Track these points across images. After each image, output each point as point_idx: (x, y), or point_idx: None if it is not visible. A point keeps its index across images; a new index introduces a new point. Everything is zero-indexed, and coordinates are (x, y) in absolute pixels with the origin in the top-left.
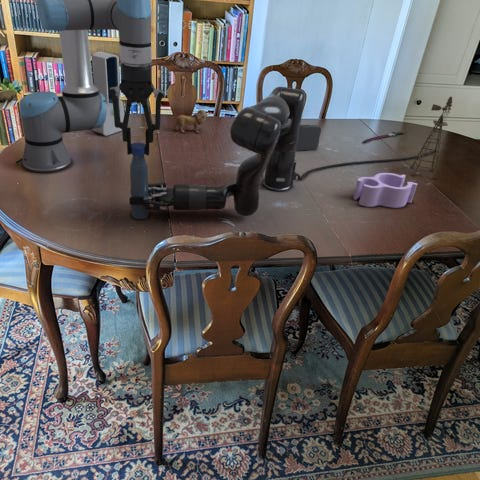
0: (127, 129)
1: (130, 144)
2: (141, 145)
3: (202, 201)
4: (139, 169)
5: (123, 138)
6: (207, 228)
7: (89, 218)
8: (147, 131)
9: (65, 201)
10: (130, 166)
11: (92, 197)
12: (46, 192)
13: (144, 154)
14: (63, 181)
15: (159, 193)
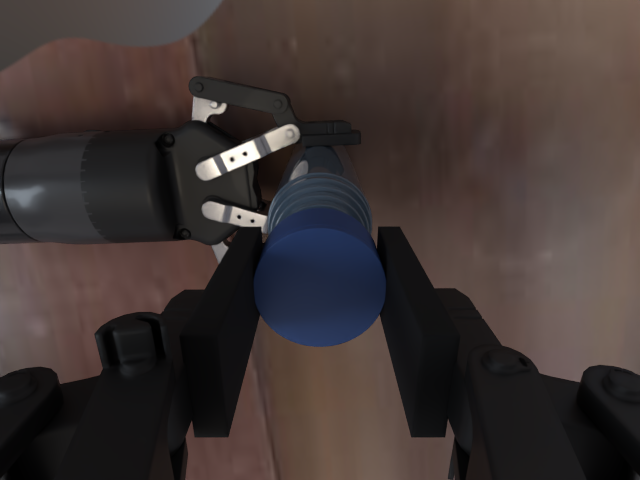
0: (447, 387)
1: (386, 291)
2: (293, 290)
3: (39, 138)
4: (312, 176)
5: (464, 303)
6: (64, 79)
7: (495, 129)
8: (196, 359)
9: (574, 240)
10: (369, 213)
11: (486, 272)
12: (632, 293)
13: (272, 231)
14: (576, 362)
15: (230, 170)
